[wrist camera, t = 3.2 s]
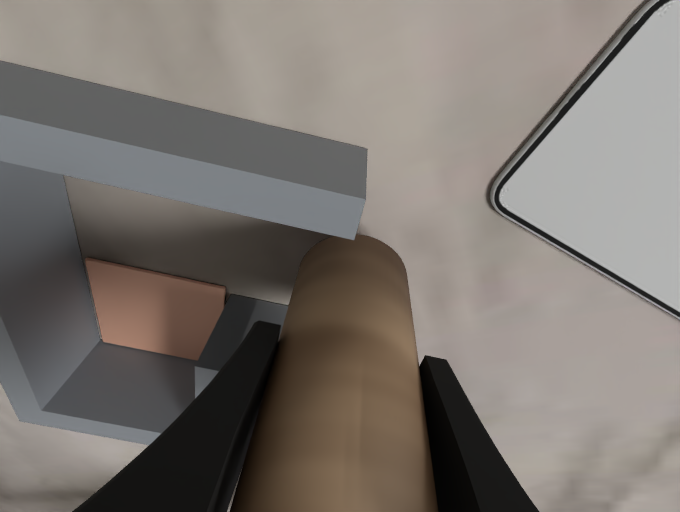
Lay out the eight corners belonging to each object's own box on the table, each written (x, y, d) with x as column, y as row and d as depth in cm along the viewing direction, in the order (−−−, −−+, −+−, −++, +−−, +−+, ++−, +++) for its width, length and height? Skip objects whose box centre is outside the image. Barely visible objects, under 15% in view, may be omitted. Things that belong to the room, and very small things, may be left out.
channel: (303, 394, 20) (289, 471, 17) (80, 350, 19) (19, 421, 16) (367, 148, 12) (365, 199, 9) (0, 60, 12) (-151, 79, 8)
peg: (388, 329, 15) (406, 658, 7) (291, 308, 14) (204, 626, 7) (422, 248, 12) (498, 600, 5) (308, 222, 12) (207, 551, 5)
